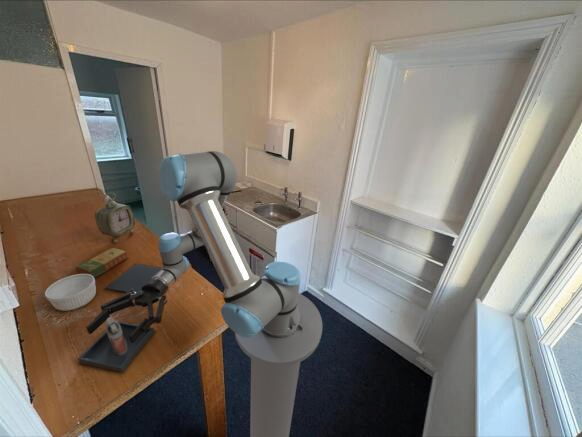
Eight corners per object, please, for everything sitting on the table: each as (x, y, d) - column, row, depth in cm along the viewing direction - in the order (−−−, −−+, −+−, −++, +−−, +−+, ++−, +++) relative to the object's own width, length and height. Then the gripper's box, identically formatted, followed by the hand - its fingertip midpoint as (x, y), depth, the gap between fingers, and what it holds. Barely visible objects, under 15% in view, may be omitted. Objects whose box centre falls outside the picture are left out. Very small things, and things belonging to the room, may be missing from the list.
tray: (154, 332, 76) (153, 327, 75) (122, 372, 64) (120, 368, 64) (117, 324, 78) (116, 320, 77) (80, 363, 66) (77, 358, 65)
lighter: (109, 340, 72) (100, 317, 68) (122, 333, 74) (114, 311, 70) (116, 358, 67) (107, 335, 63) (130, 350, 70) (122, 327, 65)
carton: (127, 258, 109) (125, 250, 107) (92, 279, 95) (89, 271, 94) (114, 254, 111) (112, 246, 109) (77, 274, 97) (74, 266, 95)
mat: (168, 270, 104) (168, 269, 104) (142, 295, 90) (142, 294, 90) (135, 264, 106) (135, 264, 105) (105, 288, 91) (105, 288, 91)
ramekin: (78, 284, 92) (73, 270, 89) (108, 290, 91) (103, 276, 88) (41, 310, 80) (33, 295, 77) (74, 317, 79) (67, 302, 76)
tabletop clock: (115, 245, 118) (101, 199, 107) (100, 242, 119) (85, 196, 109) (137, 232, 131) (127, 190, 120) (123, 229, 132) (112, 187, 122)
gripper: (191, 298, 86) (151, 352, 67) (130, 287, 89) (75, 335, 70) (188, 283, 83) (146, 334, 64) (125, 272, 85) (67, 318, 66)
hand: (109, 335), depth 67 cm, fingers open, 13 cm apart
